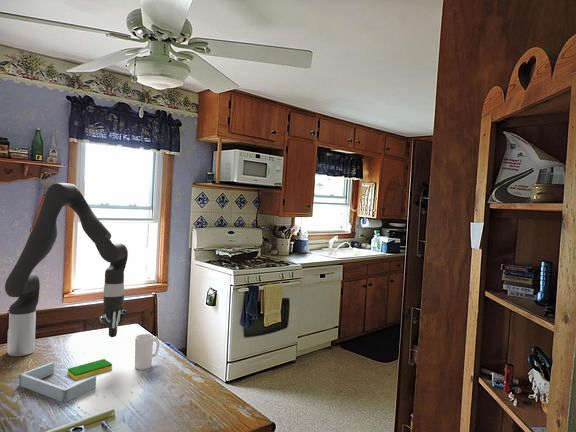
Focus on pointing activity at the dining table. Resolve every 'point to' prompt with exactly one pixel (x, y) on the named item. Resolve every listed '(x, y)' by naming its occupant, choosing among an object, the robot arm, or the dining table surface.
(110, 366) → the dish sponge
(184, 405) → the dining table surface
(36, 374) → the frame
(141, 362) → the mug
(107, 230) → the robot arm
